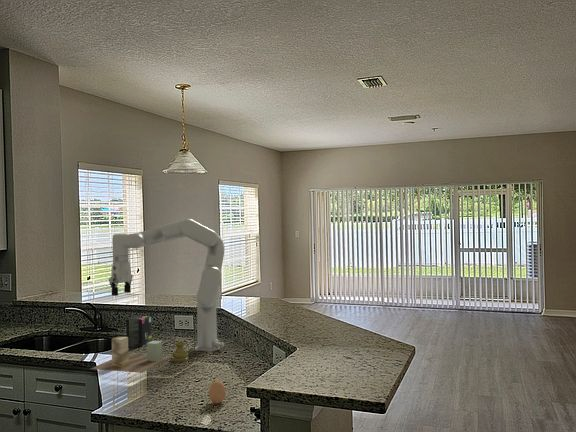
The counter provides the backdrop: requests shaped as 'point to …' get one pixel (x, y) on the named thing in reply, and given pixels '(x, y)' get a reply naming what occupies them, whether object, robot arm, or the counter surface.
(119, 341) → the maple block
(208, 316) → the robot arm
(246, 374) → the counter surface
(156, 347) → the sage block
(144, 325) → the tampon box
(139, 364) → the walnut board
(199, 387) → the counter surface
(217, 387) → the egg
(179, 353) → the olive tiered piece
